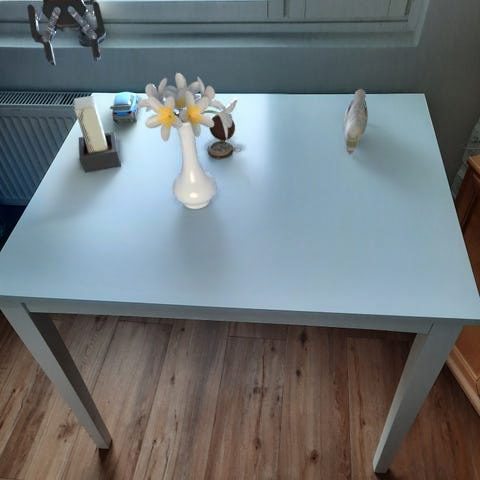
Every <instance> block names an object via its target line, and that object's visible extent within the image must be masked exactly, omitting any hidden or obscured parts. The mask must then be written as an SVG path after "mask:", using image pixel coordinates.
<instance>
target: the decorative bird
mask: <svg viewBox="0 0 480 480" xmlns="http://www.w3.org/2000/svg"><path fill="white" fill-rule="evenodd" d="M366 94H367V92H366V90H364V89H363V88H358V90H355V93H354V94H353V99H352V100H351V102H350V104H349V105H348V107H347V109H346V111H345V115H344V118H343V126H342V127H343V132H344V142H345V148H346V151H347V153H348V154H349V155H351V154H353V152H354V151H356V149H357V146H358V144H359V143H360V141H361V137H362V135H363V134H364V133H365V131H366V129H367V125H368V118H369V111H368V106H367V101H366V97H367V96H366Z"/></svg>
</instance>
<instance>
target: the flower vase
mask: <svg viewBox="0 0 480 480" xmlns="http://www.w3.org/2000/svg"><path fill="white" fill-rule="evenodd" d="M174 79H175V85H176V87H175V86H173V85H167V82H168V78H167V77H164V78H163V79H162V80H161V81H160V82H159V85H158V87H156V86H155V85H154V84H153V83H148V84H147V85H146V86H145V90H144V91H145V94H146V97H148V98H144V99H142V100H139V103H138V104H137V105H136V108H138V109H141V108H145V112H146V113H148V112H150V111H153V112H154V113H155V114H153V115H150V116H148V117H147V119H146V120H145V123H144V124H145V127H146V128H148V129H157V128H159V127H160V137H161V139H162V141H163V142H166V143H167V142H168V141H169V140H170V136H171V132H172V131H171V130H172V128H174V129H176V131H177V134H178V137H179V143H180V149H181V150H180V151H181V160H182V162H181V163H182V164H181V168H180V169H181V170H180V172H179V173H178V174H177V175H176V176H175V178H174V180H173V183H172V187H171V188H172V194H173V195H174V198H175V199H176V200H177V201H179V202H180V203H182V204H183V206H184V207H186V208H188V209H190V210H199V209H203V208H205V207H207V206H208V205H209V204H210V203H211V200H212V199H213V198H214V196H215V194H216V193H217V189H218V186H217V181H216V179H215V177H214V176H213V174H212V173H211V172H209V171H208V170H207V169H204V167H203V166H202V164H201V161H200V158H199V154H198V153H199V152H198V149H197V148H198V147H197V141H196V138H199V137H200V136H201V132H202V128H201V126H204V127H206V128H209V127H210V128H211V127H213V126H214V122H213V120H212V117H210V116H209V115H207V114H213V115H219V116H220V118H221V121H222V124H223V127H224V131H225V135H226V140H225V141H228V140H227V137H228V128H229V127H231V126H232V120H233V115H232V114H230V113H232V112H233V111H234V109H235V107H236V106H237V103H238V98H237V97H235V98H234V99H233V100H232V101H231V102H230V103H229V104H228V105H227V106H225V105H224V103H222V102H220V101H218V100H216V99H215V97H216V92H215V88H213V86H211V85H208V86H206V88H205V84H204V83H203V81H202V79H201V78H200V76H198V75H197V76H196V79H197V81H194V82H191V83H190V84H189V85H188V83H187V81H186V78H185V76H184V75H183V74H182V73H180V72H176V73H175V76H174ZM199 92H200V95H199V94H198V93H199ZM197 94H198V95H197ZM164 98H165V100H164ZM208 107H210V108H214V109H217V110H219V111H216V110H209V109H208ZM175 110H177V111H178V112H176V111H175Z"/></svg>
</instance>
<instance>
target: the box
mask: <svg viewBox="0 0 480 480" xmlns="http://www.w3.org/2000/svg"><path fill="white" fill-rule="evenodd" d="M73 109H74V113H75V115H76V118H77V122H78V124H79V127H80V131H81V133H82V137H84V140H85V143H86V146H87V149H88V152H89V154H91V153H97V152H103V151H109V149H108V145H107V141H106V138H105V134H104V133H105V131H104V127H103V125H102V124H103V123H102V121H101V117H100V113H99V111H98V107H97V104H96V101H95V96H94V95H89V96H83V97H77V98H73Z"/></svg>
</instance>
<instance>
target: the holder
mask: <svg viewBox="0 0 480 480" xmlns="http://www.w3.org/2000/svg"><path fill="white" fill-rule="evenodd" d="M104 134H105V138H106V141H107V145H108V149H109V151H103V152H97V153H91V154H89V152H88V149H87V146H86V143H85V140H84V136H80V137H78V158H79V162H80V164H81V166H82V169H83V173H84V174H86V173H92V172H99V171H104V170H110V169H115V168H121V167H122V162H121V153H120V146H119V143H118V139H117V135H116V132H115V131H111V132H104Z"/></svg>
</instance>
